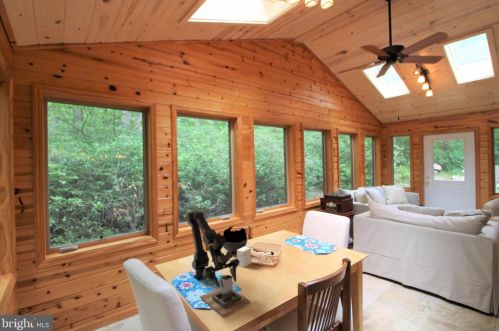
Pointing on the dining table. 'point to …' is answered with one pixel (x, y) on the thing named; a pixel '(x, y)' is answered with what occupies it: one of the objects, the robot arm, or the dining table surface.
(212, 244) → the robot arm
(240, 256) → the small box
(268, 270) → the dining table surface
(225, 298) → the steel hub
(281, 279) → the dining table surface
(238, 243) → the coal bowl
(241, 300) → the walnut board
